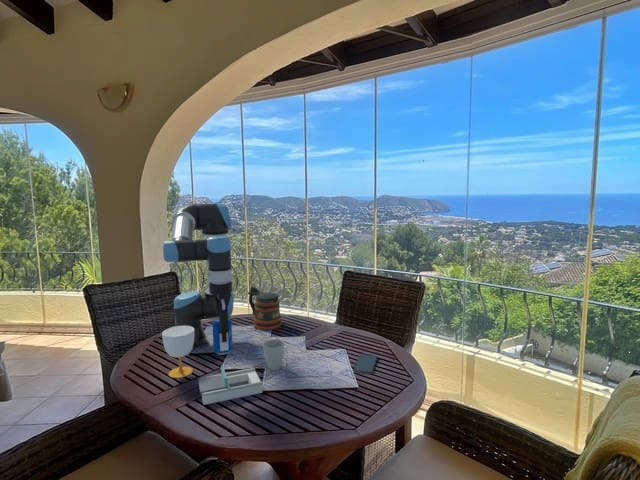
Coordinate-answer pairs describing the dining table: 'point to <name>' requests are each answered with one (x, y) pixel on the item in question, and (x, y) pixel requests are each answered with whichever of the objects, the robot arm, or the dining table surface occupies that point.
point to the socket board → (235, 386)
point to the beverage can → (217, 336)
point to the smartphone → (365, 363)
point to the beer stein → (265, 309)
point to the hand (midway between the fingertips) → (223, 346)
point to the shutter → (213, 382)
